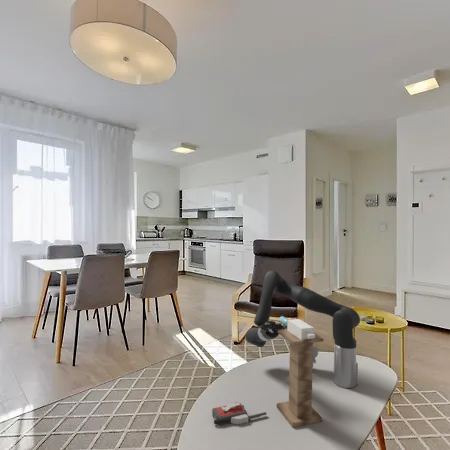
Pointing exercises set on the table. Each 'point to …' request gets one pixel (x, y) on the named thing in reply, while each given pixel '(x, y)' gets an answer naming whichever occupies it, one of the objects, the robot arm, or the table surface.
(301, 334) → the white block with ball
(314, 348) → the figurine
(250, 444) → the table surface
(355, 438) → the table surface
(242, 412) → the walkie-talkie
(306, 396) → the stand
